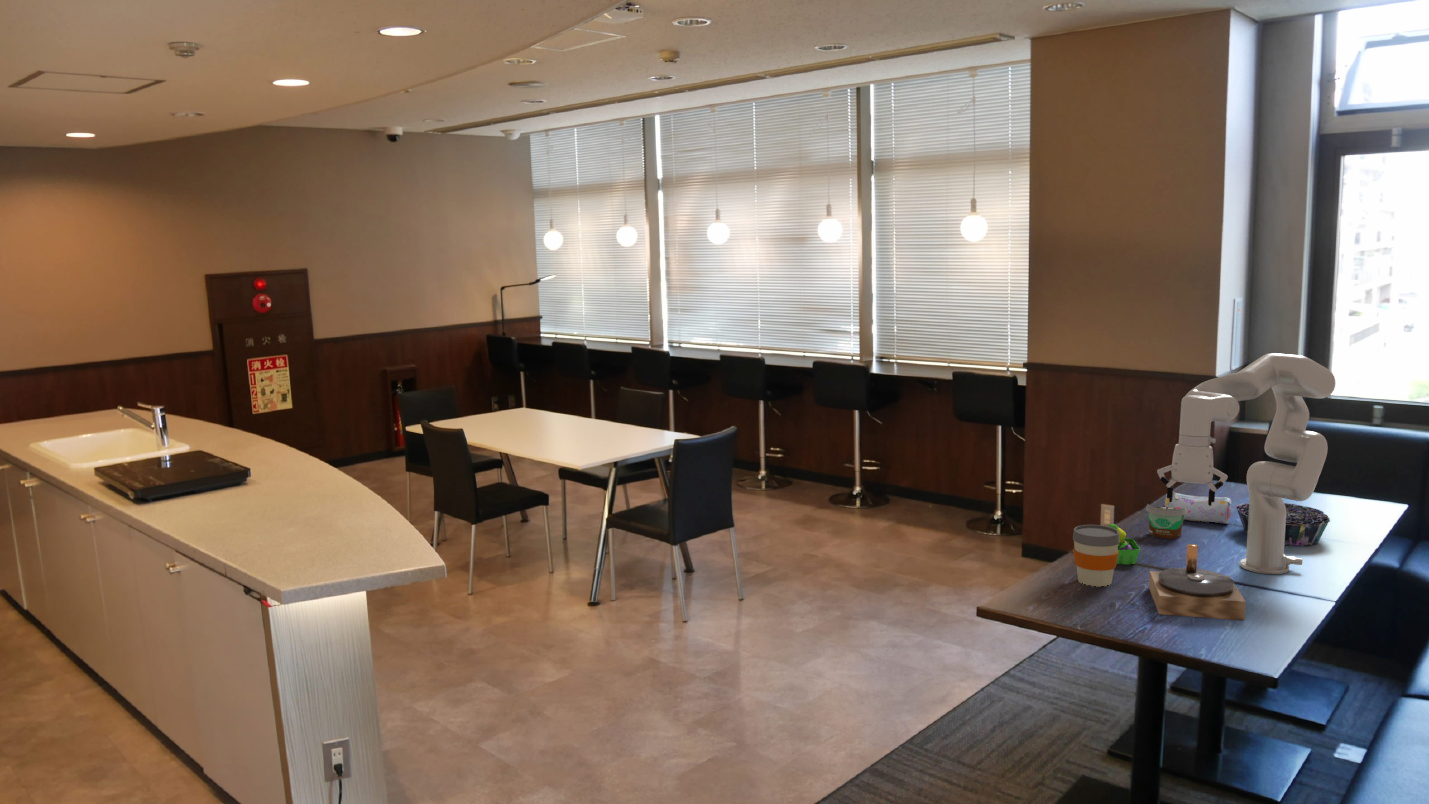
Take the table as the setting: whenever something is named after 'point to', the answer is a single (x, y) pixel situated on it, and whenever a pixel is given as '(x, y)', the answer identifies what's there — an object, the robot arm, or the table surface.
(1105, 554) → the reusable coffee cup
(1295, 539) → the decorative bowl
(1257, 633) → the table surface
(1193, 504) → the pencil case
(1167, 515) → the food container
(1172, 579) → the handwheel
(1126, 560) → the fruit basket
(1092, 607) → the table surface
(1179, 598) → the block
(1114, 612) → the table surface
